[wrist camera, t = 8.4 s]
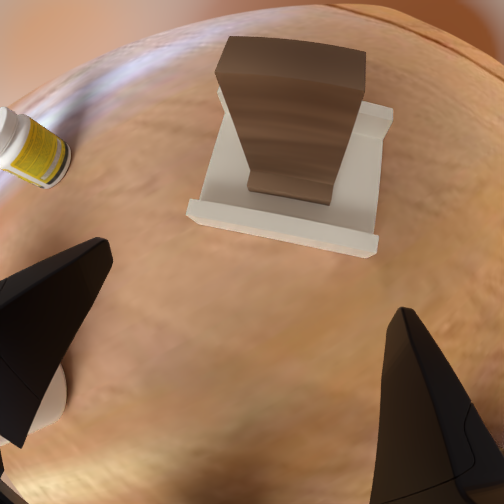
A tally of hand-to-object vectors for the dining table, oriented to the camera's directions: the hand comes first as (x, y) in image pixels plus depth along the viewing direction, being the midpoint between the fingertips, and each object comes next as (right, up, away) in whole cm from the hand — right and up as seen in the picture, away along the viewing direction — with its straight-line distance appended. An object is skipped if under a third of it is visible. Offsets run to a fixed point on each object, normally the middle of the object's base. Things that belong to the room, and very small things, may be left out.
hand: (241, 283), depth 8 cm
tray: (+3, +6, +11) cm, 13 cm away
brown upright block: (+3, +6, +10) cm, 12 cm away
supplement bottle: (-18, +9, +14) cm, 25 cm away
